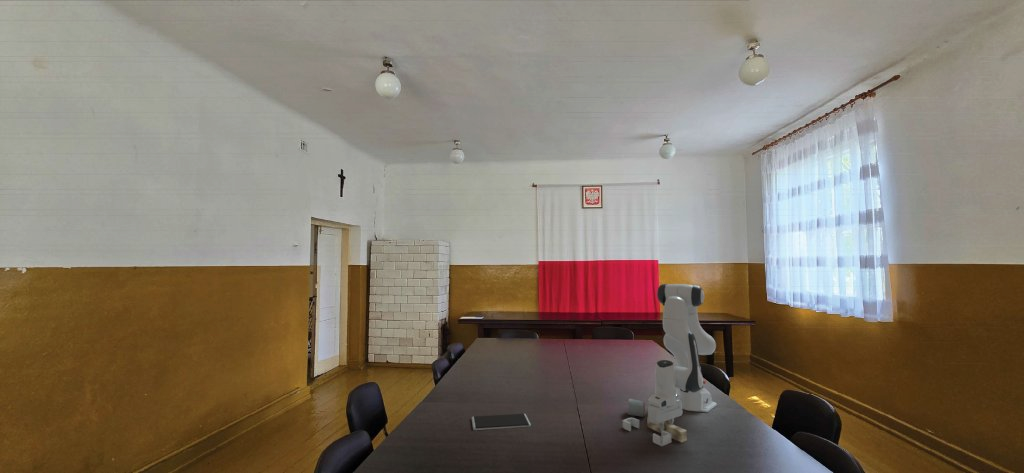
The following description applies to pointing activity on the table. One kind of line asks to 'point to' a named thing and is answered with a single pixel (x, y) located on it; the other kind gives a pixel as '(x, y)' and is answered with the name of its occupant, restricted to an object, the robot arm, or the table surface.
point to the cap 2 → (662, 438)
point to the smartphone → (500, 421)
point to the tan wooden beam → (670, 430)
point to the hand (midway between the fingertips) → (666, 429)
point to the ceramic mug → (636, 408)
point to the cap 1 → (630, 423)
